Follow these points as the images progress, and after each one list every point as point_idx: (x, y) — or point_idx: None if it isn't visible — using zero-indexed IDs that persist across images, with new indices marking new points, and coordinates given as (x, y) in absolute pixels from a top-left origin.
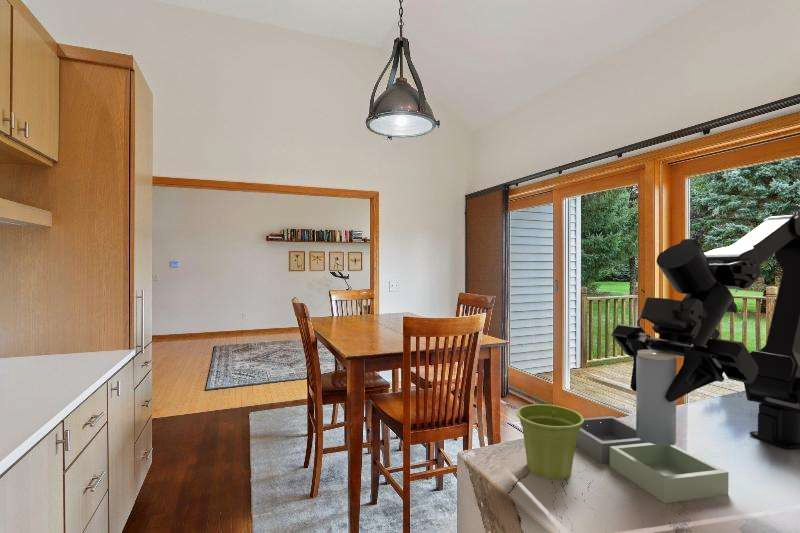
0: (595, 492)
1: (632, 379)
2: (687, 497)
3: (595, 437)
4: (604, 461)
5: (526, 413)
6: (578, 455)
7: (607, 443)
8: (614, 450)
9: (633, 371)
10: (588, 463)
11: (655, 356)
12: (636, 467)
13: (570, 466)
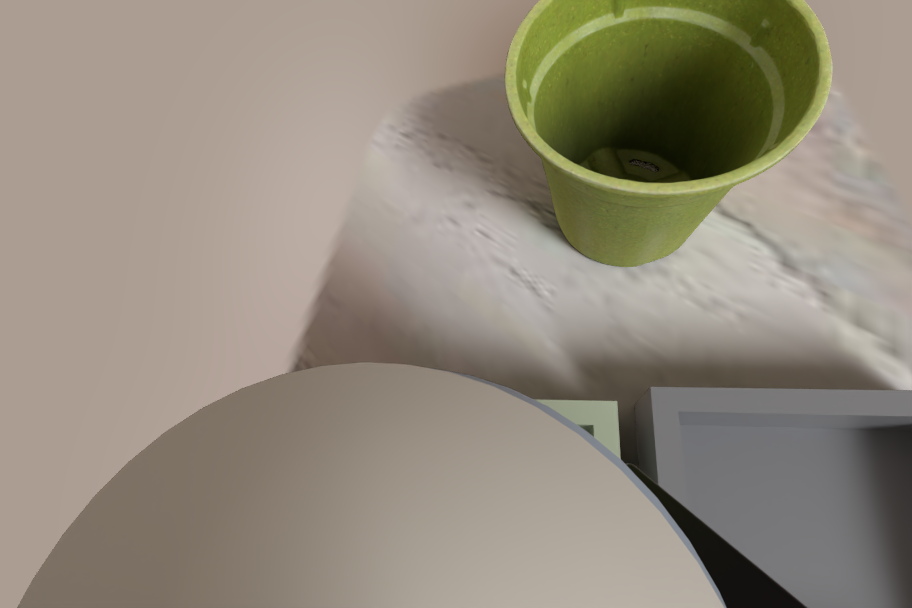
0: (481, 273)
1: (660, 500)
2: None
3: (726, 406)
4: (639, 415)
5: (774, 34)
6: (743, 378)
7: (651, 415)
8: (586, 402)
9: (739, 567)
10: (667, 372)
11: (143, 455)
12: None
13: (562, 221)
